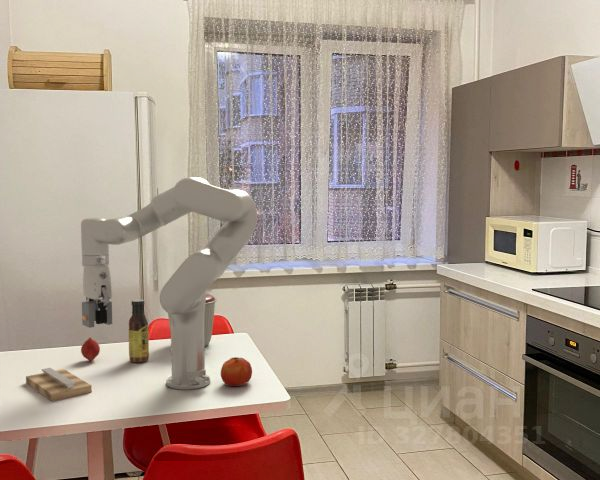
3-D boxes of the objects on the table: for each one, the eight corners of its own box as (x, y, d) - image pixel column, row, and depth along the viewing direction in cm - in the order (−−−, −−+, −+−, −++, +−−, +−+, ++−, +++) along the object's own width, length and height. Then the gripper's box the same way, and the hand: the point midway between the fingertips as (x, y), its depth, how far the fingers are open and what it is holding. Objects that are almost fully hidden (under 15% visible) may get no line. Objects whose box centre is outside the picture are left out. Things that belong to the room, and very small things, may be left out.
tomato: (223, 390, 183) (222, 363, 182) (218, 380, 191) (218, 354, 191) (255, 388, 185) (255, 360, 184) (249, 378, 194) (249, 351, 193)
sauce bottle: (146, 363, 208) (144, 302, 206) (126, 363, 208) (125, 302, 206) (151, 357, 215) (149, 298, 213) (132, 357, 215) (130, 298, 213)
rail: (74, 387, 179) (74, 382, 179) (66, 389, 177) (66, 384, 177) (50, 372, 192) (50, 367, 192) (42, 374, 191) (41, 369, 191)
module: (112, 324, 192) (111, 301, 191) (87, 328, 187) (86, 305, 186) (105, 321, 196) (104, 299, 195) (80, 324, 191) (79, 302, 190)
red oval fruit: (77, 362, 210) (76, 337, 209) (90, 357, 215) (90, 333, 214) (90, 364, 207) (89, 340, 206) (103, 359, 212) (103, 335, 211)
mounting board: (91, 392, 181) (91, 385, 181) (52, 401, 174) (51, 394, 174) (63, 375, 196) (63, 368, 196) (26, 383, 189) (25, 376, 189)
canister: (200, 336, 243) (199, 280, 241) (227, 346, 229) (226, 287, 227) (156, 344, 232) (155, 285, 229) (181, 355, 218) (180, 293, 215)
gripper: (120, 262, 185) (122, 325, 187) (95, 256, 198) (97, 315, 200) (95, 264, 181) (97, 329, 182) (71, 258, 193) (73, 318, 195)
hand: (97, 321), depth 191 cm, fingers closed on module, 5 cm apart
